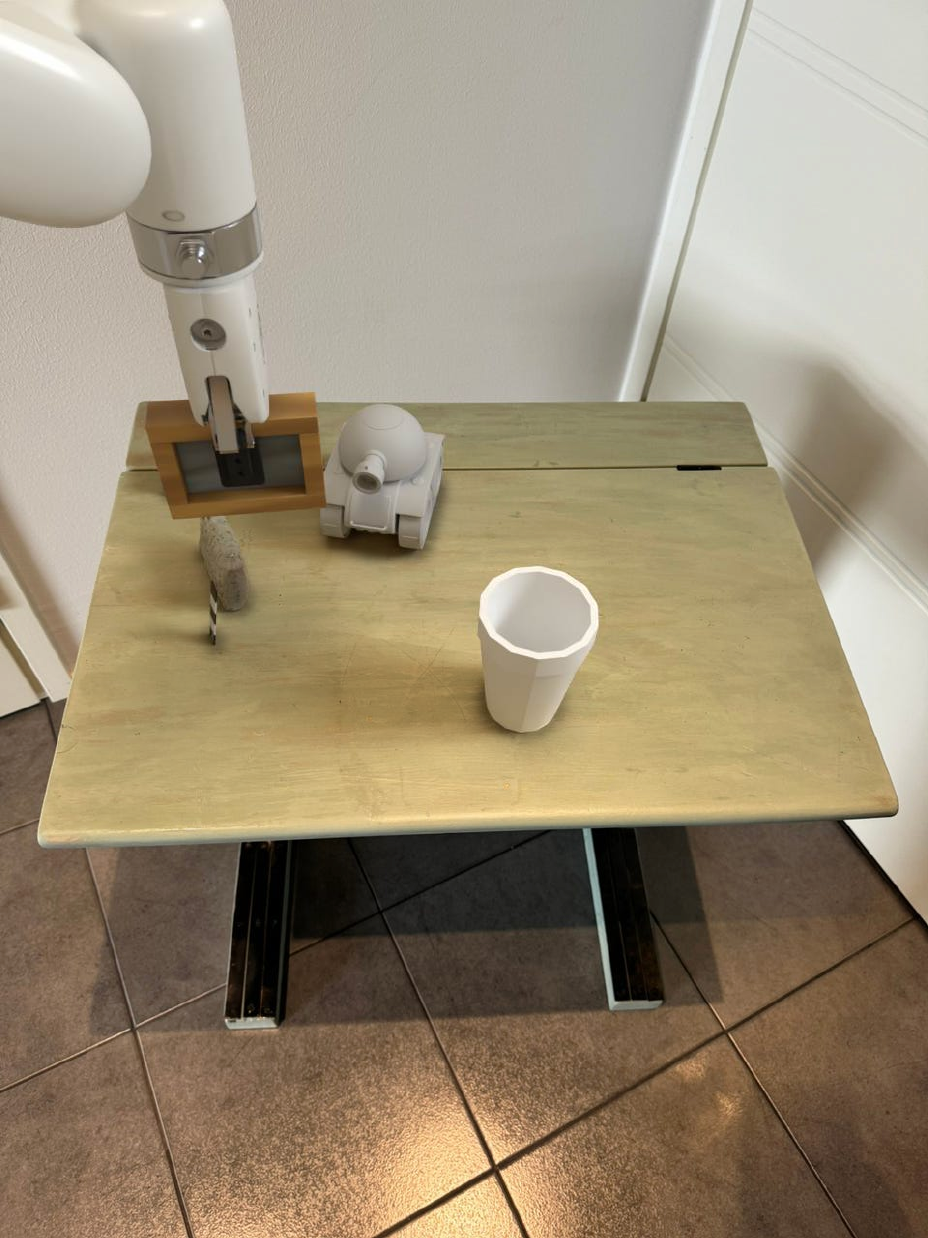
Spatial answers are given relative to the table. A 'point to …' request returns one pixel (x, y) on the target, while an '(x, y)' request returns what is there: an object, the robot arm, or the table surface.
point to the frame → (195, 472)
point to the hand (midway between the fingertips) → (243, 466)
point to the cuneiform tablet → (223, 567)
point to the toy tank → (382, 476)
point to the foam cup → (533, 643)
